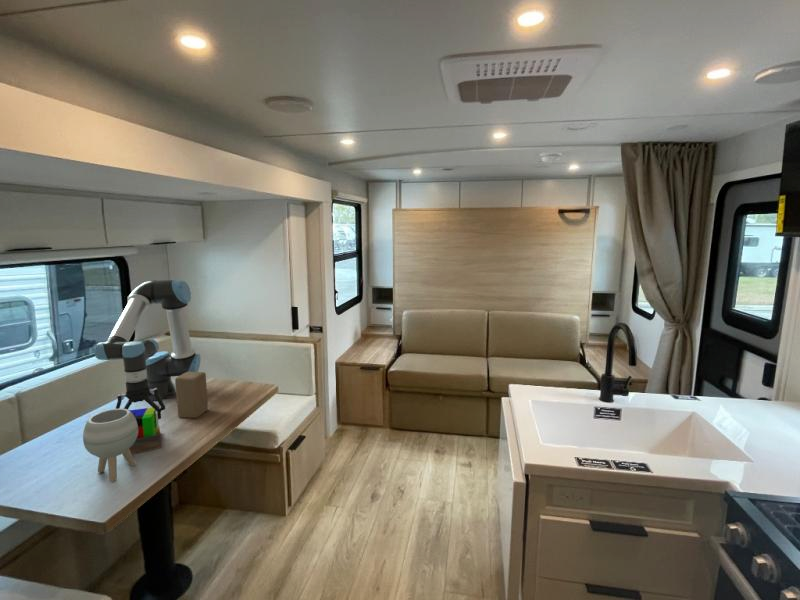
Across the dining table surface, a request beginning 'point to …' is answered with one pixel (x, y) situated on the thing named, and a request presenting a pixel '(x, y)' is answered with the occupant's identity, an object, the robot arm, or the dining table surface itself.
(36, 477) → the dining table surface
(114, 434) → the planter
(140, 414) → the puzzle toy
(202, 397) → the wooden block
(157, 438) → the dock
